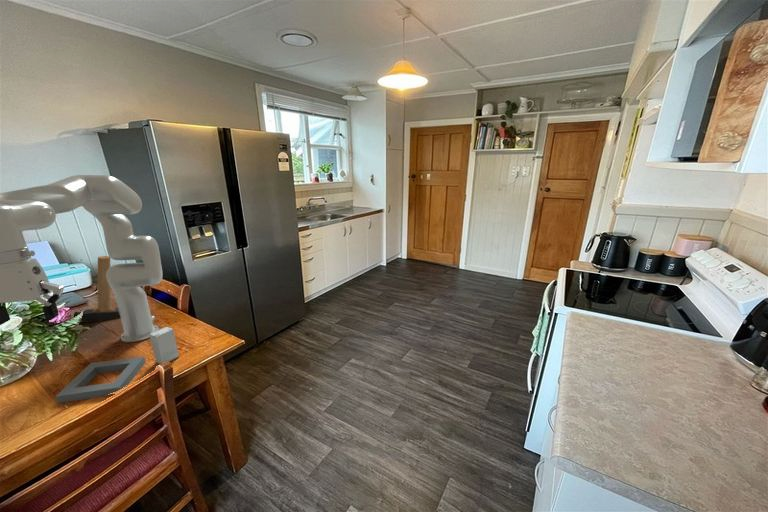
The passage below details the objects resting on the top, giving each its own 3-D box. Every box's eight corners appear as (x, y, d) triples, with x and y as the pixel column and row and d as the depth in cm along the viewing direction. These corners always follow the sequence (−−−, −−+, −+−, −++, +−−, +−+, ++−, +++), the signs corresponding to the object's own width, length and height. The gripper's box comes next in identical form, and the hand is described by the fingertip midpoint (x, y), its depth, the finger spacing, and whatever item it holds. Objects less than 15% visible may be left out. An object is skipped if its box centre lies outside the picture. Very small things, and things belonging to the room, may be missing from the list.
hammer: (134, 314, 145) (135, 256, 140) (132, 319, 141) (133, 259, 136) (76, 318, 133) (75, 254, 128) (73, 323, 129) (71, 257, 124)
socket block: (92, 369, 103) (90, 363, 102) (145, 362, 107) (144, 356, 107) (57, 403, 88) (55, 396, 88) (121, 393, 93) (119, 387, 92)
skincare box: (172, 353, 113) (166, 325, 109) (180, 356, 111) (174, 328, 107) (155, 362, 107) (148, 333, 104) (162, 366, 106) (155, 336, 102)
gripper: (62, 250, 76) (80, 309, 81) (-29, 254, 71) (-3, 317, 76) (39, 258, 69) (61, 323, 74) (-63, 264, 64) (-33, 332, 69)
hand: (28, 320), depth 75 cm, fingers open, 9 cm apart
